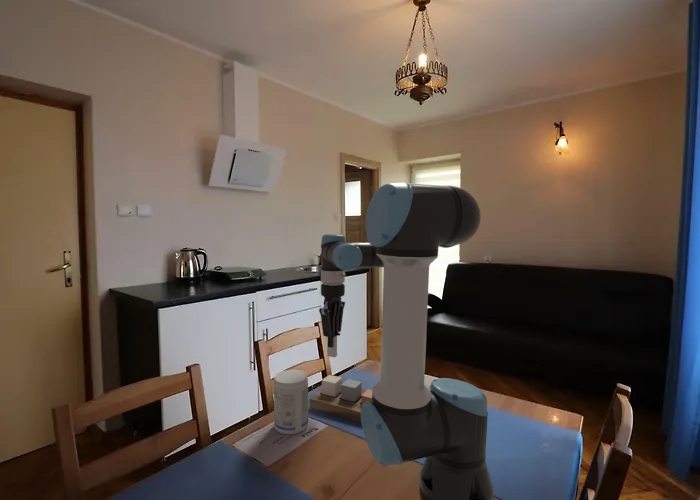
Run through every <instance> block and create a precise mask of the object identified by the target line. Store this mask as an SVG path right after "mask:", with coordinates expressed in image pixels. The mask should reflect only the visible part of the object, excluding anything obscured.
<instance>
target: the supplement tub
mask: <svg viewBox="0 0 700 500" xmlns="http://www.w3.org/2000/svg"><path fill="white" fill-rule="evenodd" d="M273 411H274V412H273V414H274V415H273V418H274V419H273V420H274V422H273V423H274V424H273V425H274V428H275V430H276V431H277V432H278V433H279V434H282V435H296V434H298V433H299V434H300V433H301V432H303V431H304V430H305V429H306V428H308V425H309V379H308V373H307V372H306V371H303V370H300V369H286V370H281V371H280V372H277V373H276V374H275V375H274V378H273Z"/></svg>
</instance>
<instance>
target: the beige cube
mask: <svg viewBox="0 0 700 500" xmlns="http://www.w3.org/2000/svg"><path fill="white" fill-rule="evenodd" d="M342 384H343V377H341V376H336V375H331V374H328V375H327V376H326V377H323V378H322V380H321V389H322V394H325V395H328V396H329V397H333V398H336V397H335V396H337V395H338V394H339V393H340V392H341V385H342Z"/></svg>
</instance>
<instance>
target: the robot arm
mask: <svg viewBox="0 0 700 500" xmlns="http://www.w3.org/2000/svg"><path fill="white" fill-rule="evenodd" d="M481 217H482V215H481V209H480V207H479V204H478V202H477V200H476V199H475V197H474V196H473V195H472V194H471V193H470V192H468V191H467V190H466V189H463V188H461V187H458V186H455V185H437V184H426V183H415V182H413V183H412V182H396V183H394V182H393V183H390V182H389V183H385V184H383V185H382V186H380V187H379V188H377V189H376V191H375V192H374V193H373V196H372V197H371V199H370V201H369V204H368V207H367V211H366V216H365V232H366V233H367V234H366V238H367V241H368V242H346V236H345V235H344V234H338V233H337V234H335V233H332V234H327V233H326V234H323V235H322V236H321V242H320V243H321V244H320V249H321V250H320V254H321V255H320V259H321V260H320V266H321V269H320V282H321V284H320V294H321V296H322V297H323V298H324V299H323V300H324V301H323V306H322V307H319V308H318V312H319V314H320V320H321V327H322V335H323V336H322V337H326V339H327V340H326V341H327V343H326V345H327V348H326V349H327V351H326V353H327V357H330V358H331V357H332V358H336V357H337V355H338V336H339V337H340V336H341V331H342V325H343V318H344V317H343V315H344V309H345V305H346V301H343V300H342V297H344V296H345V293H346V290H345V289H346V285H345V279H346V278H345V277H346V275H347V274H346V271H354V270H356V269H370V268H371V269H373V268H383V277H382V278H383V281H382V284H383V286H382V287H383V288H382V311H381V313H382V314H381V315H382V316H381V317H382V320H381V342H380V343H381V346H380V347H381V349H380V350H381V351H380V378H379V379H380V380H379V381H378V382H377V383H375V385H374V386H373V387H372V389H371V390H372V401H371V402H370V401H367V402H366V403H364V404H363V405H362V407H361V422H360V423H361V427H362V428H361V429H362V432H363V435H364V439H365V441H366V444H367V446H368V449H369V451H370V453H371V455H372V457H373V458H374V460H375V461H376V463H378V464H379V465H381V466H383V467H389V466H395V465H398V466H401V465H403V464H404V463H408V462H411V461H417V460H419V459H424V458H425V459H424V461H423V464H422V467H421V469H420V474H419V487H420V488H419V489H420V491H421V494H422V496H423V497H424V498H425V499H426V500H494V487H493V485H494V484H493V482H492V479H491V476H490V471H489V469H488V466H487V462H486V457H487V456H486V453H487V452H486V451H487V432H488V431H487V430H488V416H489V411H488V399H487V396H486V394H485V393H484V392H483V390H481V389H480V388H479V387H477V386H475V385H473V384H471V383H469V382H466V381H463V380H460V379H455V378H447V377H440V378H439V377H438V378H435V379H433V380H432V381H431V383H430V385H429V388H428V387H427V386H426V385H425V377H426V376H425V373H426V372H425V371H426V354H427V353H426V351H427V326H428V325H427V324H428V304H429V303H428V302H429V284H430V282H429V280H430V279H429V277H430V265H431V264H432V263H433V262H434V261H436V259H438V257H439V247H440V248H443V249H444V248H445V249H448V248H453V247H455V246H457V245H460V244H464V243H465V242H468V241H469V240H471V238H473V236H474V235H475V234H476V233H477V231H478V229H479V227H480V224H481V219H482V218H481Z"/></svg>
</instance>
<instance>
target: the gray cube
mask: <svg viewBox="0 0 700 500" xmlns="http://www.w3.org/2000/svg"><path fill="white" fill-rule="evenodd" d="M362 385H363V383H362V381H359V380H354V379H350V378H347V379H346V380H345V381H344V382H342V385H341V399H345V400H347V401H348V402H352V403H357V402H356V401H357V400H358V399H359V398H360V397H361V396H362V389H363V388H362Z"/></svg>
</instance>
